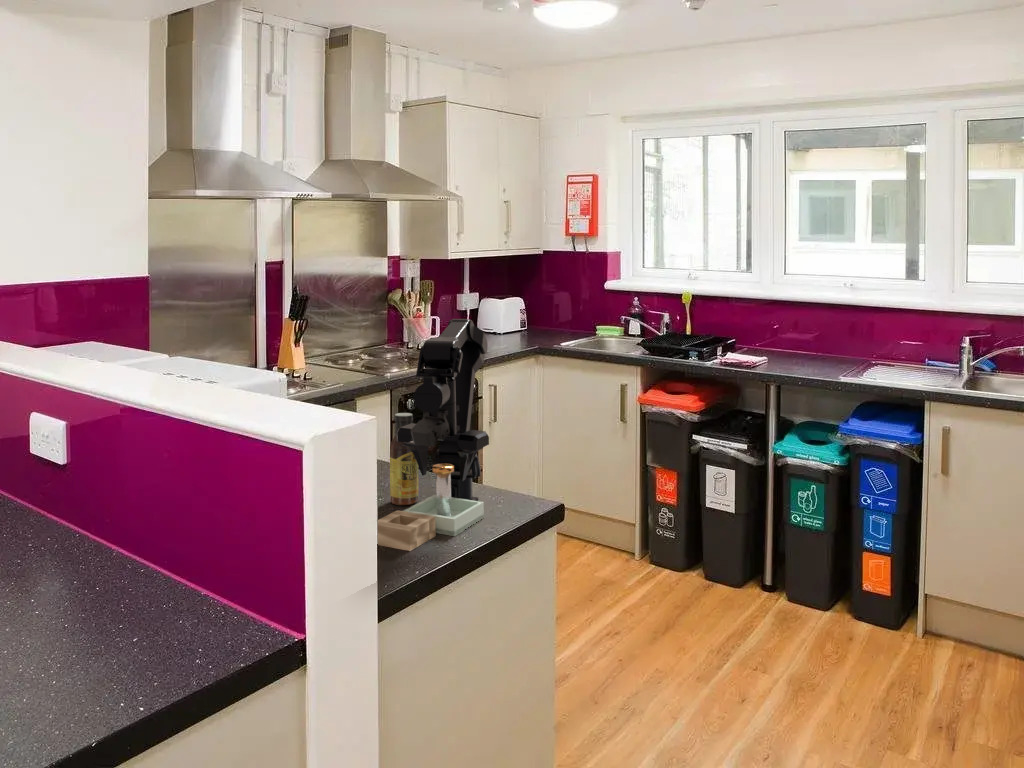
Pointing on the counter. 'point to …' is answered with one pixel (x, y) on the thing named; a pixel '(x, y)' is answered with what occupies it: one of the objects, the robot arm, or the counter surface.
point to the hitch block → (405, 530)
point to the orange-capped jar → (443, 488)
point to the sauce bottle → (402, 467)
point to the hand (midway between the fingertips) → (443, 477)
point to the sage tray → (461, 518)
